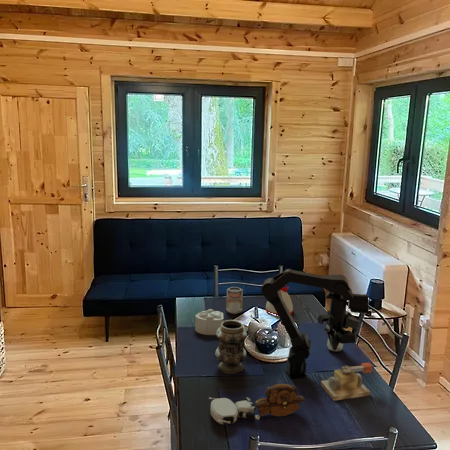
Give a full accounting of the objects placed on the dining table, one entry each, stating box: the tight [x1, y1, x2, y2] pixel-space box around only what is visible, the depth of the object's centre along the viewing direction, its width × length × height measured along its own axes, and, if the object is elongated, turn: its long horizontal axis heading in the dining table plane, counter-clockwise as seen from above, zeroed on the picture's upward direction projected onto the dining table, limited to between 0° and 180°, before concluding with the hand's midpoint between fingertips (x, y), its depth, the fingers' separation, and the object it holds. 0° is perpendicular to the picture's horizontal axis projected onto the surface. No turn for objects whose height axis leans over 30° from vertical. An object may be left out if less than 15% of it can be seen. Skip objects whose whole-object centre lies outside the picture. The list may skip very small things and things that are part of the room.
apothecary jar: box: [214, 319, 248, 375], centre depth 170 cm, size 12×12×18 cm
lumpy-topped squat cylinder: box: [194, 308, 225, 336], centre depth 203 cm, size 10×13×9 cm
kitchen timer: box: [265, 284, 294, 315], centre depth 225 cm, size 14×14×15 cm
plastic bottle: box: [326, 338, 344, 353], centre depth 185 cm, size 6×7×20 cm
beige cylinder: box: [225, 286, 244, 315], centre depth 224 cm, size 9×8×12 cm
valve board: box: [320, 368, 371, 401], centre depth 157 cm, size 14×10×7 cm
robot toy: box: [208, 397, 261, 425], centre depth 142 cm, size 12×4×15 cm
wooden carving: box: [254, 383, 305, 417], centre depth 142 cm, size 16×5×10 cm, turn 106°
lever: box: [341, 362, 374, 374], centre depth 157 cm, size 11×3×2 cm, turn 103°
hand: (334, 349), depth 163 cm, fingers closed
